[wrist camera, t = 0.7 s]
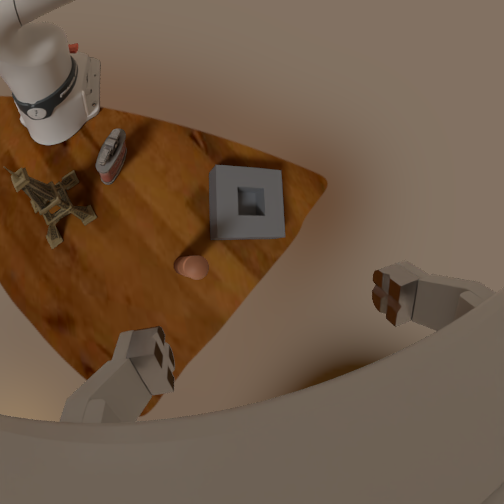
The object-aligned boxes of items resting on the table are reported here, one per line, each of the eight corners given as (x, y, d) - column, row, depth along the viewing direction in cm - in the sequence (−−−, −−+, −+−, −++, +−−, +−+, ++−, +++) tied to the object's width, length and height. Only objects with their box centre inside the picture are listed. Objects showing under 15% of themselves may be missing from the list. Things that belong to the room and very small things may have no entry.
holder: (209, 173, 52) (215, 164, 47) (269, 177, 56) (281, 170, 52) (210, 240, 51) (217, 237, 47) (273, 238, 56) (285, 237, 52)
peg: (173, 257, 49) (184, 255, 36) (190, 256, 50) (208, 254, 37) (174, 274, 49) (185, 280, 36) (191, 273, 50) (209, 278, 37)
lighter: (115, 143, 44) (111, 119, 35) (130, 148, 46) (129, 125, 36) (97, 181, 43) (88, 163, 34) (113, 187, 44) (107, 170, 35)
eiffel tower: (52, 249, 40) (-16, 239, 17) (30, 201, 38) (-37, 159, 15) (97, 217, 43) (58, 178, 20) (74, 170, 41) (32, 103, 18)
